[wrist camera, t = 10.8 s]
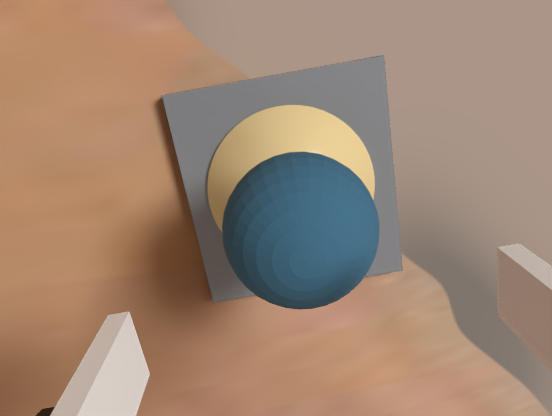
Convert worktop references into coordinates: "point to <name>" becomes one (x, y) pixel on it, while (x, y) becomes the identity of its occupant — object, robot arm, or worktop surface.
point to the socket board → (283, 147)
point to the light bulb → (300, 230)
